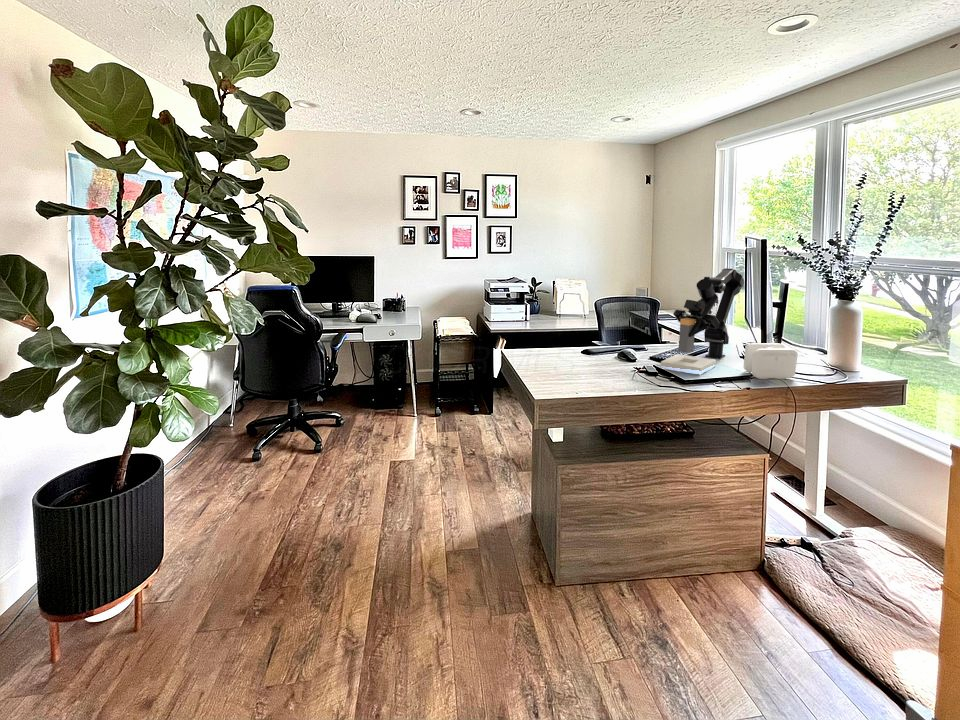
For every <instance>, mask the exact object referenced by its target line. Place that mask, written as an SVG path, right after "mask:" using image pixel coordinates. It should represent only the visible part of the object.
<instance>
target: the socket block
mask: <svg viewBox="0 0 960 720" xmlns="http://www.w3.org/2000/svg"><path fill="white" fill-rule="evenodd" d="M716 363H717V359H715V358H709V357H700V356H693V355H686V354H679V353H676V354H674V355H672V356H669V357H668V358H666V359H664V360H661V361H660V367H661V366H665V367H672V368H680V369H691V370H699V371H702V370H704V369H706V368H708V367H710V366H713V365H715V364H716ZM715 366H716V365H715Z"/></svg>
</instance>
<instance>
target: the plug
mask: <svg viewBox="0 0 960 720" xmlns="http://www.w3.org/2000/svg"><path fill="white" fill-rule="evenodd" d="M695 323H696V319H691V318H684V319H681V320H680V322H679V333H680V334H679V336H678V350H677V351H678V352H681V353H685V354H686V353H687V354H688V353H692V352H694V350H695V349H694V345H695V336H696V334H695V335H693V336H691V337H689V336H688V335H689V333H690V331H691V330H692V328H693V327H694V325H695Z"/></svg>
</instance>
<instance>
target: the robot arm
mask: <svg viewBox="0 0 960 720" xmlns="http://www.w3.org/2000/svg"><path fill="white" fill-rule="evenodd" d="M744 279H745V278H743V274H740V273H739V272H737V269H734V268H727V267H724V268H723V269H722V270H721V271H720V272H719V273H718V274H717V275H715V277H714V276H713V277H711V276H704V277H703V278H702V279H700V280H699V281H698V282H697V283H696V286H695V287H696V289H697V292H698V295H699V297H700V299H699V300H698V301H697V300H692V299H686V301H685V302H684V305H683V308H685V309H687V310H688V311H687V312H688V313H687V312H686V311H685V310H683V309H675V310H674V312H673V313H672V314H673V316H674V318H675V319H676V320H677V322H679V323H680V320H681V319H684V318H691V319H696V323H695V325H694V327H693V328H692V330H691V331H690V333H689V335H688V336H689V337H691V336H693V335H695V336H696V335H697V334H699V333H701V332H703V331H704V333H703V334H704V342H705V343H708V351H707V352H708V353H707V354H705V355H704V356H705V358H711V359H720V360H721V359H722V358H724V357H726V354H724V346H725V345H729V341H730V337H729V333H728V328H727V325H726V322H727V319H728V316H729V313H730V310H731V307H732V304H733V301H734V298H735V296H737V295H738V294H739V293H740V292H741V290H742V288H743V287H744V284H745V280H744ZM718 294H722V296H721V299H720V302H719V295H718ZM715 304H718V307H717V310H716V312H715V313H716V314H715V315H714V314H712V313H713V311H712V309H713V307H714V306H715ZM679 334H680V332H679Z"/></svg>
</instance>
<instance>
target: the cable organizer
mask: <svg viewBox="0 0 960 720" xmlns="http://www.w3.org/2000/svg"><path fill="white" fill-rule="evenodd" d="M744 350H745V351H744V359H743V369H744V370H745V371H746V372H748V373H749V372H752V373H751V374H752V376H753V377H755V378H757V379H758V380H768V379H776V380H786V379H791V378H793V377H794V376H795V375H796V370H797V361H798V351H796V350H795V349H792V348H786V346H785V345H784V344H782V343H776V342H775V343H772V342H771V343H770V342H768V343H765V342H763V343H762V342H761V343H760V342H759V343H757V342H755V343H754V342H752V343H748V344H746V346H745V349H744Z"/></svg>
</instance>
